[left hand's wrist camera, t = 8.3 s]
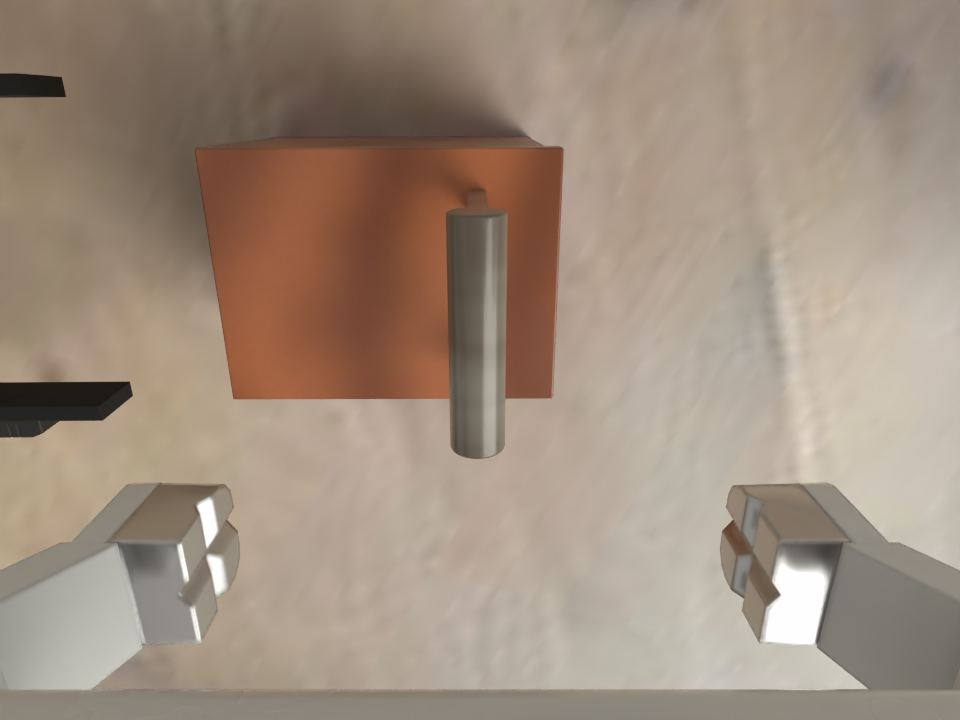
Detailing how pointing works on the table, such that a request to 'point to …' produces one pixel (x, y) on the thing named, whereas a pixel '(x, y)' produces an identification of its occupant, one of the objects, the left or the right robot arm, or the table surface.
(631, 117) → the table surface
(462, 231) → the lid
